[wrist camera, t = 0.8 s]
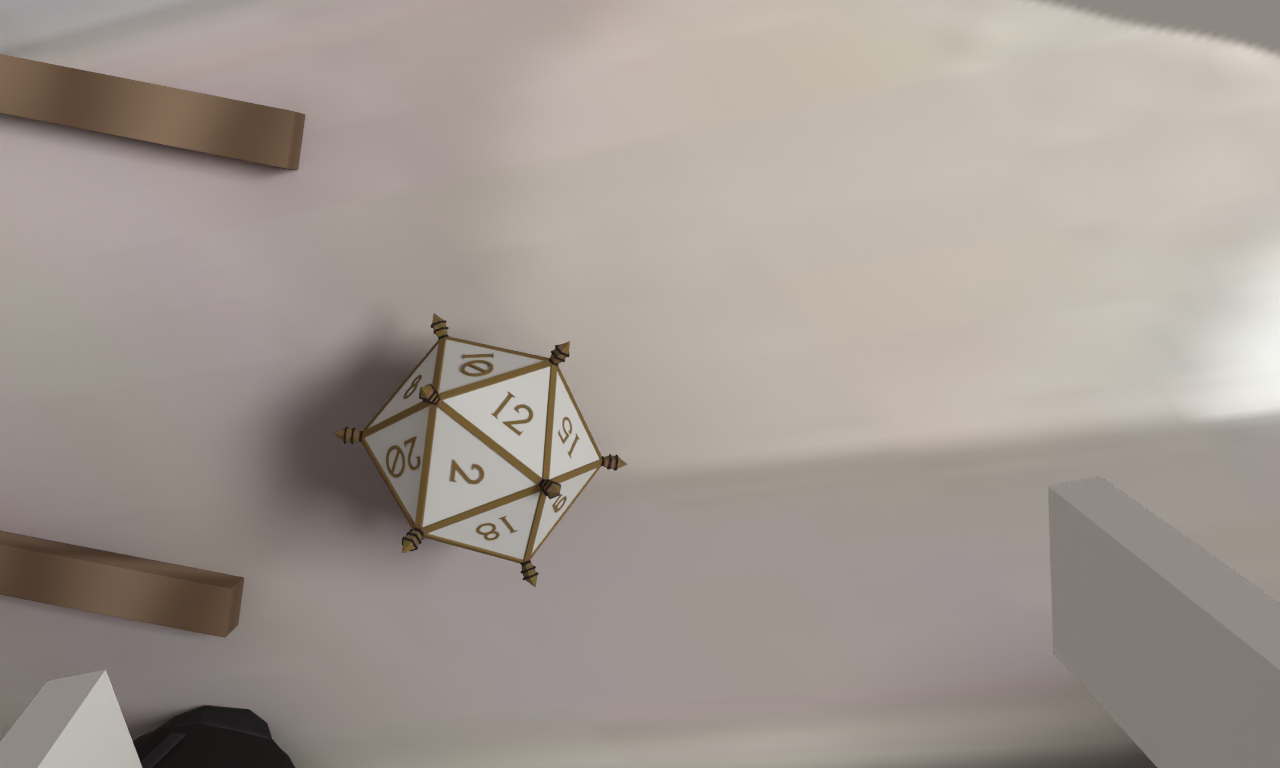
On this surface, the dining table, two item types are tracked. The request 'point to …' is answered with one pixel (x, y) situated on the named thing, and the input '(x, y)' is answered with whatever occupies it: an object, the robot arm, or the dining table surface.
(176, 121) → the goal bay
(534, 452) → the game die
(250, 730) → the portable speaker
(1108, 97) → the dining table surface
